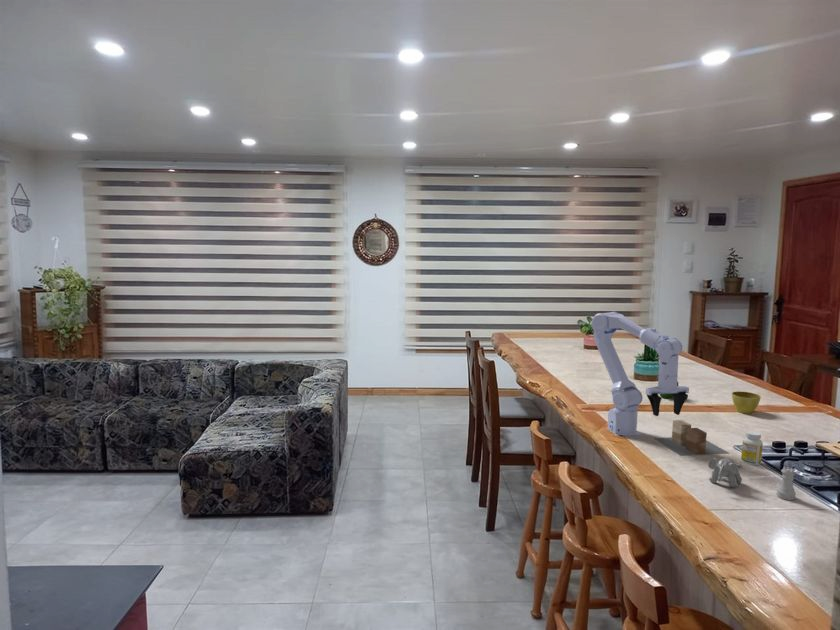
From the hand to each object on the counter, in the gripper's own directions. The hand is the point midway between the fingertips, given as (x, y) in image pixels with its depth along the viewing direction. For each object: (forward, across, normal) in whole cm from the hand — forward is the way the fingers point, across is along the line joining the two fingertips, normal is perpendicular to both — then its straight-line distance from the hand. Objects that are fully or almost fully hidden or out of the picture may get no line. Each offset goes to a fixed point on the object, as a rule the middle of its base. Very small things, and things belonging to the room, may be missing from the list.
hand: (666, 414), depth 187 cm
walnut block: (+10, +6, -8) cm, 14 cm away
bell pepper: (+10, +35, +53) cm, 65 cm away
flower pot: (+11, +54, +29) cm, 62 cm away
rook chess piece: (+11, +9, -41) cm, 43 cm away
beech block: (+10, +6, 0) cm, 12 cm away
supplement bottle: (+11, +18, -18) cm, 28 cm away
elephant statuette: (+11, -2, -32) cm, 34 cm away
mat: (+10, +7, -3) cm, 13 cm away
